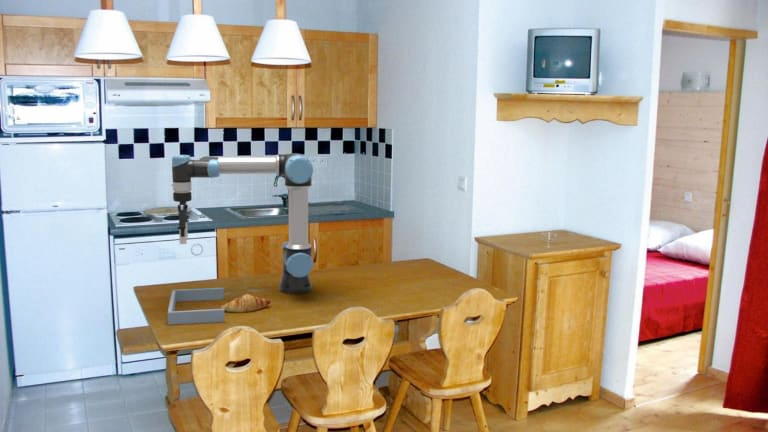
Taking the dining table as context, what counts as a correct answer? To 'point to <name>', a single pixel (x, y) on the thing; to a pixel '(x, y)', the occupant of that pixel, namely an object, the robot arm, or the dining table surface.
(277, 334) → the dining table surface
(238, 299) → the croissant
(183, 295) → the crate
